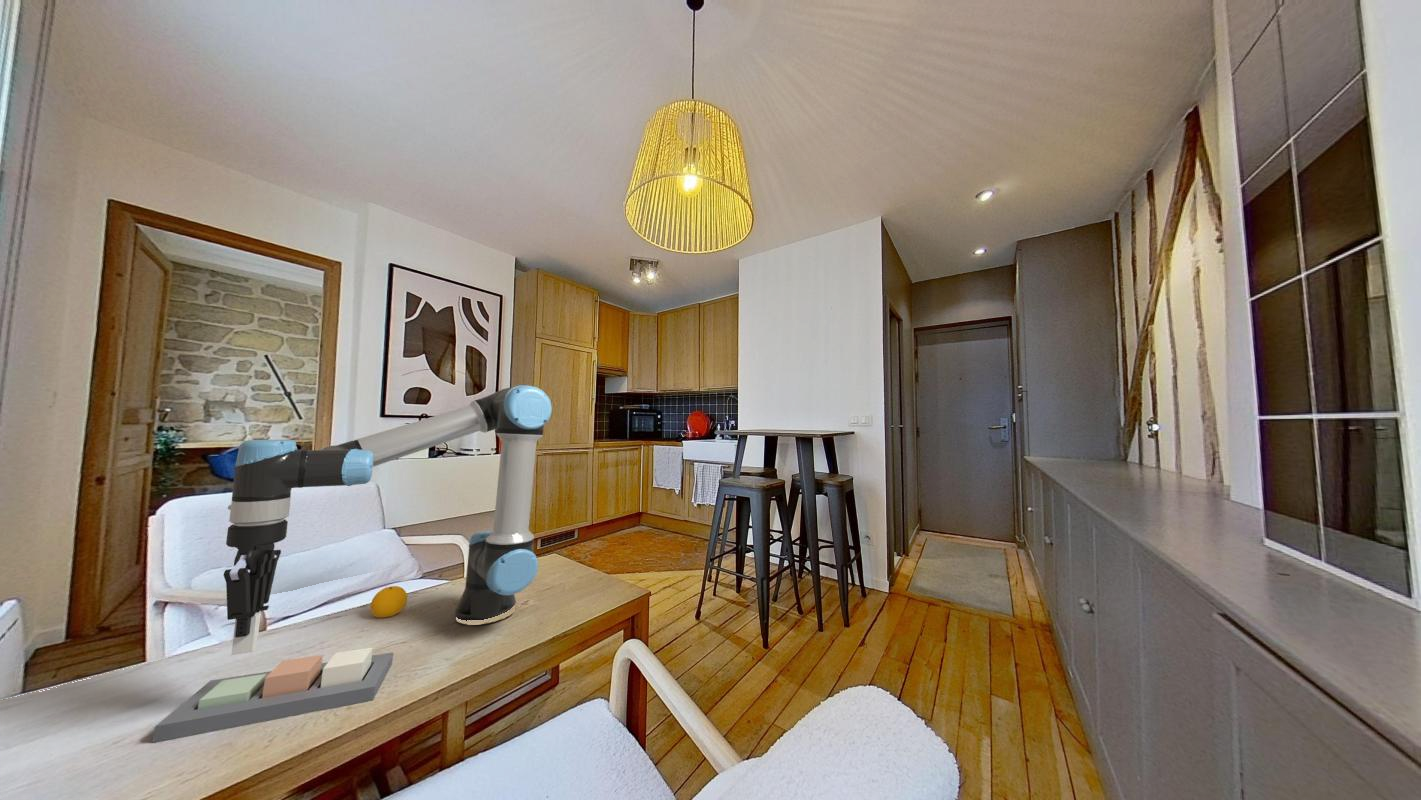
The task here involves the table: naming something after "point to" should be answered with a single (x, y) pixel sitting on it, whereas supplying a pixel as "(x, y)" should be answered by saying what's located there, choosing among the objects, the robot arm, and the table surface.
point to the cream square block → (346, 667)
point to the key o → (233, 691)
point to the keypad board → (270, 703)
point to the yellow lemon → (388, 601)
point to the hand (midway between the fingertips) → (244, 651)
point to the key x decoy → (292, 676)
